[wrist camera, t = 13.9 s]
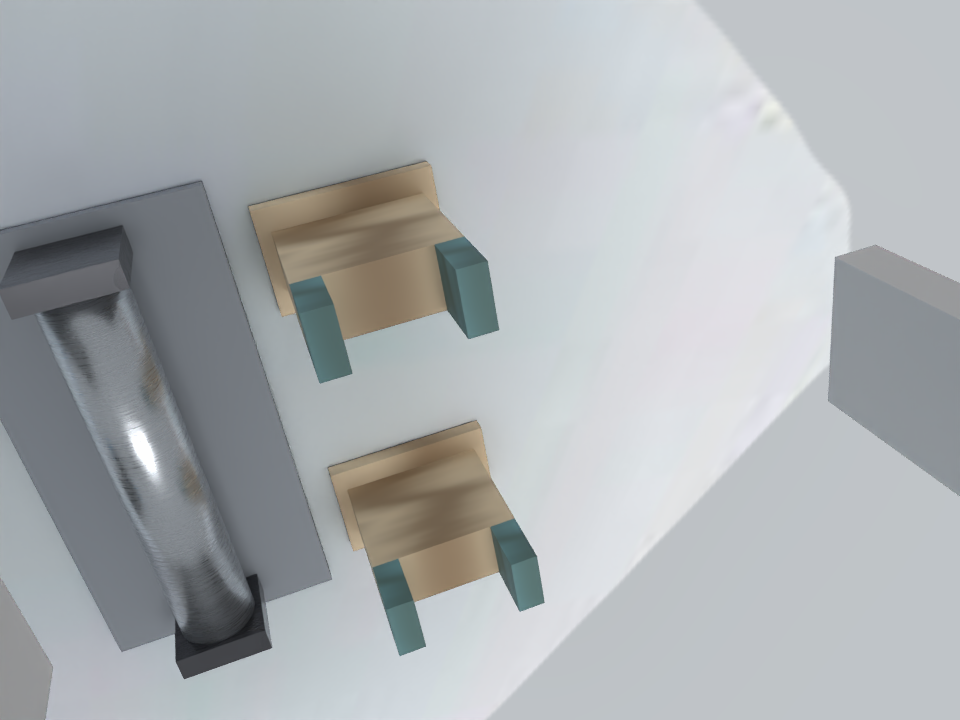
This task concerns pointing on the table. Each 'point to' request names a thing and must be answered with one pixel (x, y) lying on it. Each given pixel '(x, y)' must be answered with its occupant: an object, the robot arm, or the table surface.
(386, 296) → the post near
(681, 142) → the table surface
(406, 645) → the post far
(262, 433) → the pad
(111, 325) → the rail
